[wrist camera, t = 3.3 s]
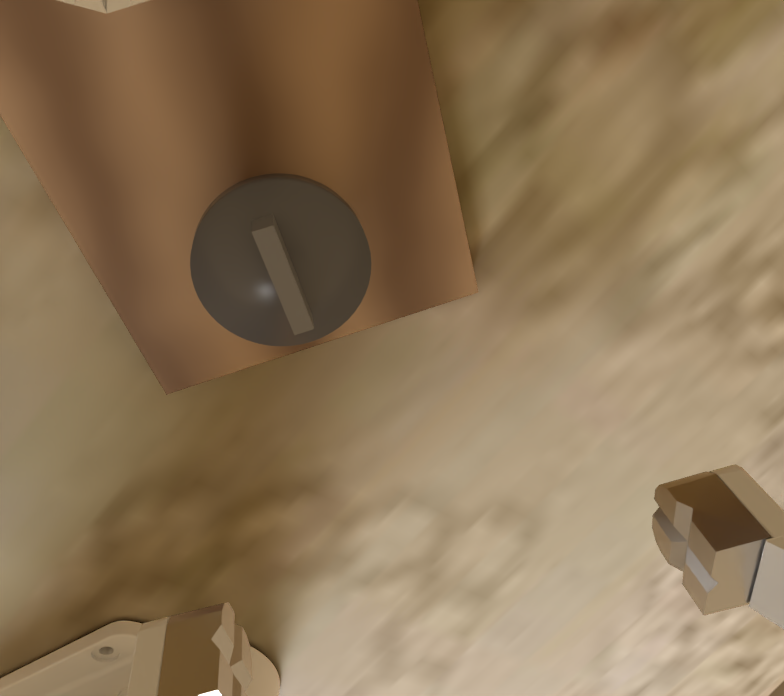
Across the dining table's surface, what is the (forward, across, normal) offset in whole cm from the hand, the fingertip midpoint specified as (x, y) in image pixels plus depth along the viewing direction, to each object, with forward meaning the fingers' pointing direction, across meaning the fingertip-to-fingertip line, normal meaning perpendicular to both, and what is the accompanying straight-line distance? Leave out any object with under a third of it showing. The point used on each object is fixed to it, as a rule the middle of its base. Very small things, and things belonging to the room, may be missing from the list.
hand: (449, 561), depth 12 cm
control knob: (+19, -3, 0) cm, 19 cm away
